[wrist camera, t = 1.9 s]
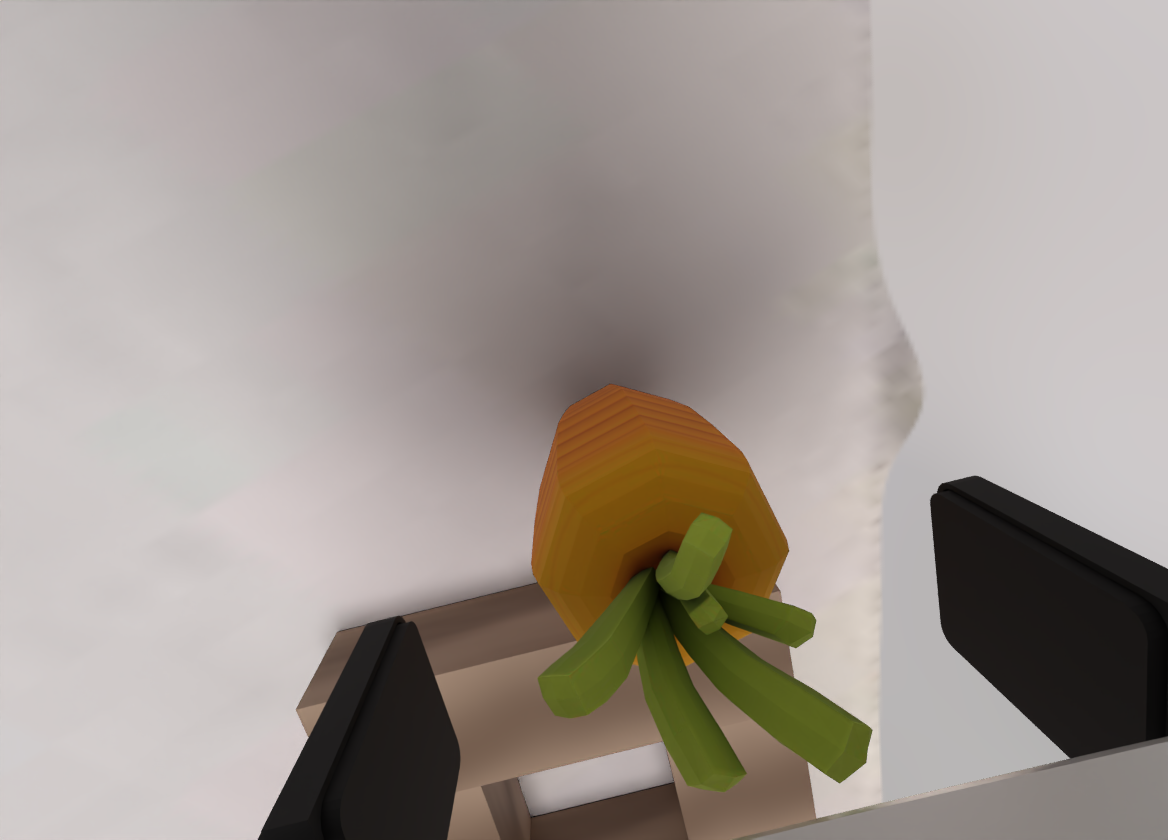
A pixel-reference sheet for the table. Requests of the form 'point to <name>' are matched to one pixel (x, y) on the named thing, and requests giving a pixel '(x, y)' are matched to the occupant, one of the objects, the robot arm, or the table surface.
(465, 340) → the table surface
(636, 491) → the carrot
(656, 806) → the walnut holder
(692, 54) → the table surface
